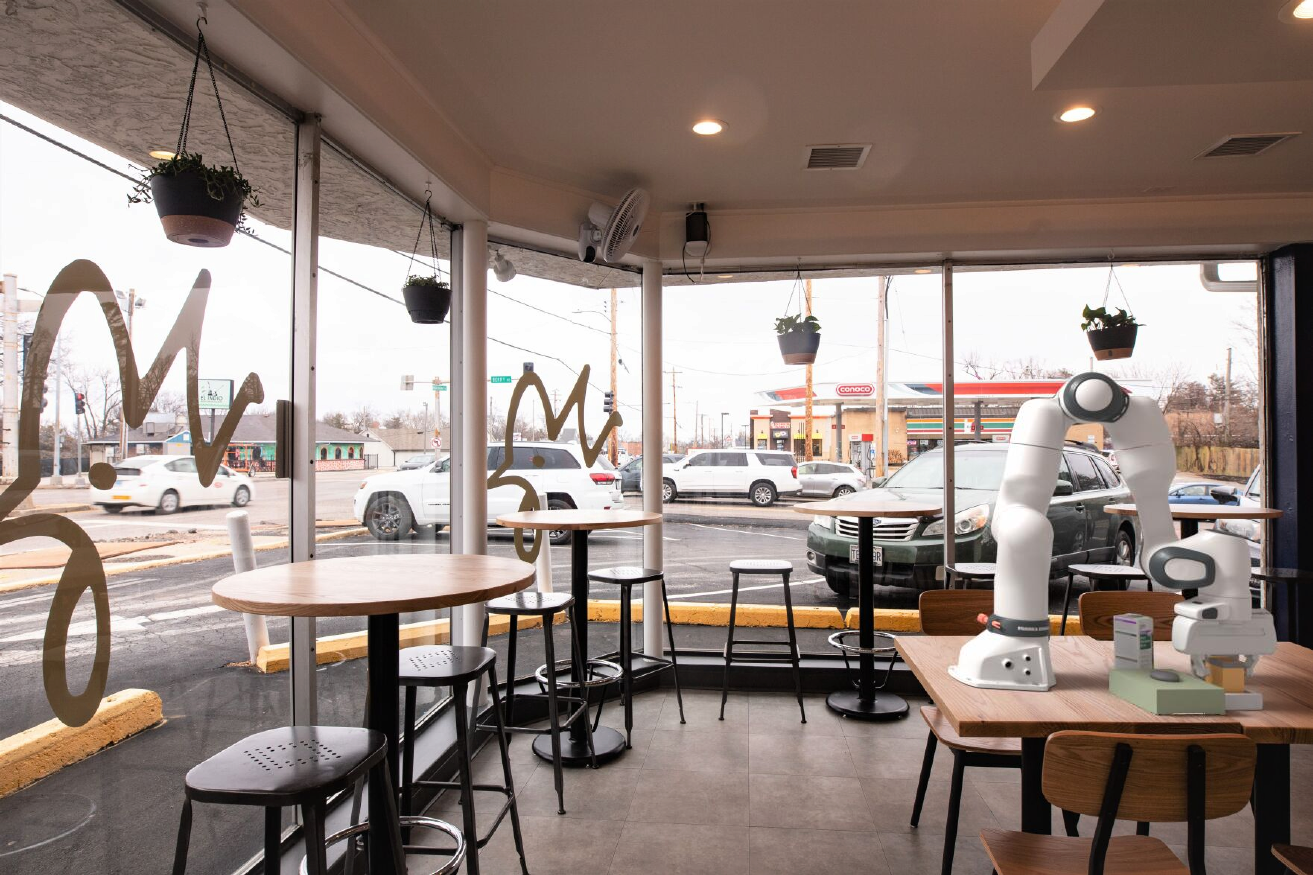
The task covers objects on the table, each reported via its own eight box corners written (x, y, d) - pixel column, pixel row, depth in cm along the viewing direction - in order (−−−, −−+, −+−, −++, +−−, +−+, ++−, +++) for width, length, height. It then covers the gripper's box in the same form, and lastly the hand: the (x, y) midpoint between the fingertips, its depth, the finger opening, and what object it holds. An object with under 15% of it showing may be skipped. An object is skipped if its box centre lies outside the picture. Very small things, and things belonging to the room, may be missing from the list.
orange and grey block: (1223, 706, 151) (1222, 662, 151) (1205, 699, 156) (1205, 656, 156) (1244, 706, 151) (1244, 662, 151) (1226, 699, 156) (1226, 656, 156)
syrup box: (1140, 684, 165) (1139, 619, 165) (1113, 677, 170) (1113, 614, 171) (1154, 681, 168) (1154, 617, 168) (1128, 674, 173) (1127, 612, 173)
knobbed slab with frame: (1156, 715, 145) (1156, 684, 145) (1109, 692, 159) (1109, 664, 159) (1274, 714, 147) (1274, 683, 147) (1217, 691, 161) (1217, 664, 161)
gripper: (1259, 605, 158) (1259, 671, 157) (1166, 605, 156) (1166, 671, 156) (1285, 611, 151) (1286, 680, 151) (1189, 611, 150) (1189, 680, 150)
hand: (1224, 675), depth 154 cm, fingers open, 8 cm apart
